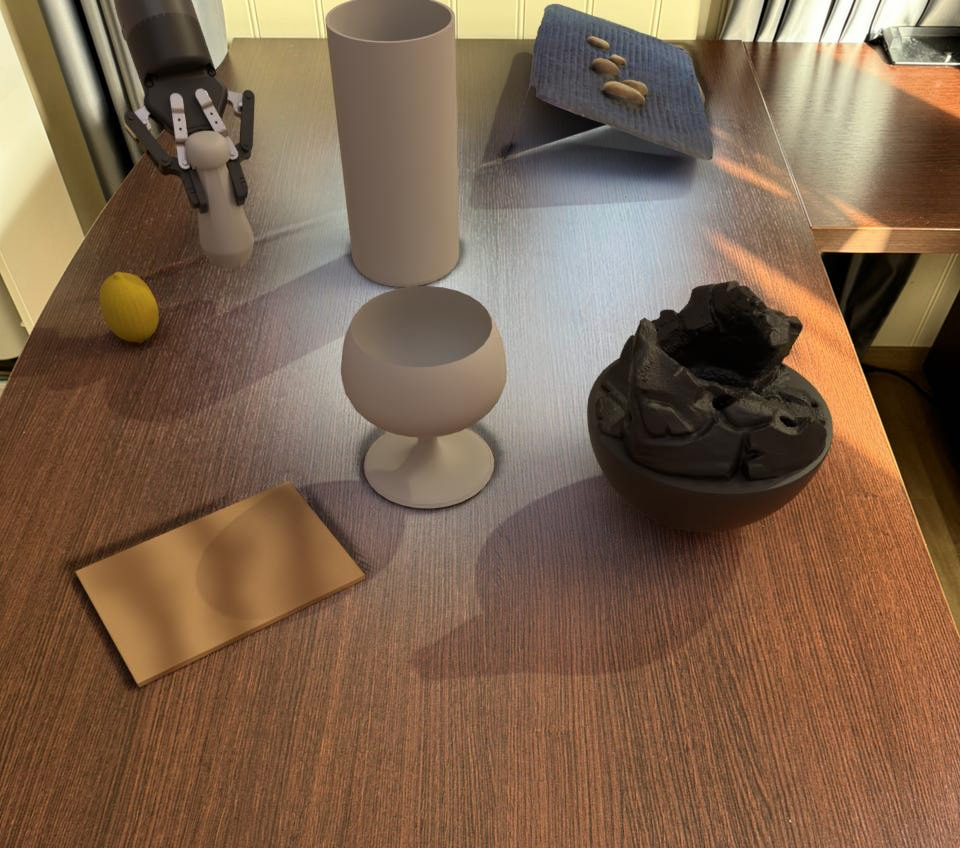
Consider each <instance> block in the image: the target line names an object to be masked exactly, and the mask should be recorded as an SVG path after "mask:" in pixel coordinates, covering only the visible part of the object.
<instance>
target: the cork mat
mask: <svg viewBox="0 0 960 848" xmlns="http://www.w3.org/2000/svg"><path fill="white" fill-rule="evenodd" d="M75 574H76V576H77V579H78V580H79V582H80V584H81V585H82V587H83V589H84V591H85V593H86V594H87V596H88V598H89V600H90V602H91V604H92V606H93V607H94V609H95V611H96V612H97V615H98V616H99V618H100V620H101V622H102V623H103V626H104V627H105V629H106V631H107V633H108V635H109V636H110V638H111V640H112V642H113V643H114V646H115V647H116V649H117V651H118V653H119V655H120V657H121V658H122V660H123V662H124V663H125V665H126V667H127V669H128V671H129V672H130V675H131V676H132V678H133V680H134V682H135V683H136V685H137V687H138V688H142V687H144V686H146V685H148V684H151V683H152V682H154V681H156V680H158V679H160V678H163V677H165V676H168V675H169V674H171V673H173V672H175V671H177V670H179V669H181V668H183V667H185V666H188V665H190V664H192V663H194V662H196V661H198V660H201V659H202V658H204V657H206V656H209V655H210V654H213V653H215V652H217V651H219V650H221V649H224V648H225V647H227V646H229V645H231V644H233V643H236V642H237V641H240V640H242V639H244V638H246V637H248V636H250V635H252V634H255V633H256V632H259V631H260V630H262V629H265V628H267V627H269V626H271V625H273V624H275V623H277V622H279V621H282V620H283V619H285V618H288V617H289V616H292V615H294V614H296V613H298V612H300V611H303V610H305V609H306V608H308V607H311V606H312V605H315V604H317V603H319V602H321V601H323V600H325V599H327V598H329V597H331V596H333V595H335V594H337V593H340V592H341V591H344V590H346V589H348V588H350V587H352V586H354V585H356V584H359V583H360V582H362V581H364V580H366V575H365V573H364V572H363V570H362V569H361V568H360V567H359V565H358V564H357V563H356V562H355V560H354V559H353V557H352V556H351V555H350V554H349V553H348V552H347V550H345V548H344V547H343V546H342V544H341V543H340V542H339V541H338V540H337V538H336V537H335V536H334V535H333V533H332V532H331V531H330V529H329V528H328V527H327V526H326V525H325V523H324V522H323V521H322V520H321V518H320V517H319V516H318V515H317V514H316V511H314V510H313V509H312V508H311V506H310V505H309V504H308V502H307V501H306V500H305V498H304V497H302V495H301V493H300V492H299V491H298V490H297V489H296V487H295V486H294V485H293V484H292V482H291V481H290V480H288V481H284V482H282V483H280V484H278V485H276V486H273V487H270V488H269V489H266V490H264V491H261V492H259V493H256V494H253V495H252V496H249V497H247V498H245V499H242V500H240V501H238V502H235V503H232V504H230V505H228V506H226V507H224V508H221V509H219V510H217V511H214V512H211V513H209V514H207V515H204V516H202V517H200V518H198V519H195V520H193V521H190V522H188V523H186V524H183V525H181V526H178V527H176V528H174V529H171V530H169V531H167V532H164V533H162V534H159V535H158V536H155V537H153V538H150V539H148V540H146V541H143V542H141V543H138V544H136V545H134V546H131V547H129V548H127V549H124V550H122V551H120V552H117V553H115V554H113V555H111V556H108V557H106V558H103V559H101V560H98V561H96V562H94V563H91V564H89V565H86V566H84V567H82V568H80V569H78V570H75Z"/></svg>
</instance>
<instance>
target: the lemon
mask: <svg viewBox="0 0 960 848" xmlns="http://www.w3.org/2000/svg"><path fill="white" fill-rule="evenodd" d="M98 296H99V300H98V301H99V307H100V311H101V315H102V318H103V320H104V322H105V324H106V326H107V327H108V328H109V330H110V331H111V332H112V333H113V334H114V336H116V337H118V338H120V339H121V340H123V341H126V342H131V343H137V344H143V343H144V341H145V340H147V339H149V338H150V337H151V336H153V334H155V332H156V330H157V327H158V325H159V320H160V319H159V317H160V316H159V307H158V303H157V301H156V298H155V296H154V294H153V293H152V290H151V289H150V287H149V286H148V284H147V283H146V282H145V281H144V280H143V279H142V278H140V276H137V275H135V274H132V273H129V272H121V271H115V272H114V273H113V274H111V275H110V276H108V277H107V278H106V279H105V280H104V281H103V283H102V284H101V286H100V290H99V295H98Z"/></svg>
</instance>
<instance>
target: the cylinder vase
mask: <svg viewBox="0 0 960 848" xmlns="http://www.w3.org/2000/svg"><path fill="white" fill-rule="evenodd" d="M324 21H325V31H326V39H327V48H328V55H329V64H330V65H329V66H330V73H331V75H330V76H331V83H332V91H333V99H334V109H335V118H336V126H337V134H338V142H339V153H340V160H341V161H340V162H341V170H342V179H343V187H344V196H345V204H346V213H347V214H346V215H347V220H348V221H347V222H348V230H349V238H350V239H349V241H350V247H351V256H352V262H353V264H354V266H355V268H356V270H357V271H358V272H359V273H360V274H361V275H362V276H363V277H366V279H368V280H370V281H372V282H375V283H377V284H380V285H384V286H387V287H388V286H389V287H396V288H397V287H398V288H405V287H412V286H426V285H428V284H431V283H435V282H436V281H439V280H441V279H443V278H444V277H446V276H447V275H449V274H450V273H451V272H452V271H453V270H454V268H455V267H456V266H457V264H458V261H459V260H460V213H459V212H460V211H459V210H460V209H459V206H460V205H459V158H458V157H459V155H458V152H459V151H458V150H459V149H458V105H457V104H458V102H457V99H458V97H457V95H458V94H457V48H456V47H457V46H456V45H457V44H456V41H457V40H456V14H455V12H454V11H453V9H452V8H451V7H450V6H448V5H447V4H445V3H443V2H441V1H438V0H348V1H344V2H342V3H340V4H338V5H336V6H335V7H333V8H332V9H330V10H329V11H328V12H327V14H326V16H325V18H324Z"/></svg>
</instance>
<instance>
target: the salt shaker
mask: <svg viewBox="0 0 960 848" xmlns="http://www.w3.org/2000/svg"><path fill="white" fill-rule="evenodd" d="M185 151H186V156H187V160H188V162H189V163H190V164H191V166H192V167H194V169H195V170H196V173H197V176H198V179H199V182H200V184H201V187H202V190H203V193H204V196H205V199H206V202H207V205H208V211H207V213H203V214H200V212H199V209H198V208H197V219H198V238H199V239H198V240H199V246H200V248H201V250H202V252H203V253H204V254H205V256H206V257H207V259H208V260H209V261H210V263H211V265H214V266H215V267H217V268H219V269H221V270H223V271H226V270H232V269H241V268H242V267H244V266H245V265H246V264H247V263H248V262H249V261H251V258H252V253H253V249H254V246H255V237H254V236H255V235H254V232H253V230H252V227H251V225H250V222H249V220H248V218H247V215H246V212H245V210H244V207H243V205H240V206H238V205H237V201H236V198H235V193H234V189H233V185H232V181H231V177H230V174H229V171H228V168H227V166H226V163H227V161H228V160H229V158H230V153H229V147H228V143H227V141H226V138H225V137H223V136H222V135H221V134H219V133H218V132H213V131H201V132H196V133H194V134H192V135H190V136H189V137H188V138H187V140H186V141H185Z"/></svg>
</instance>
